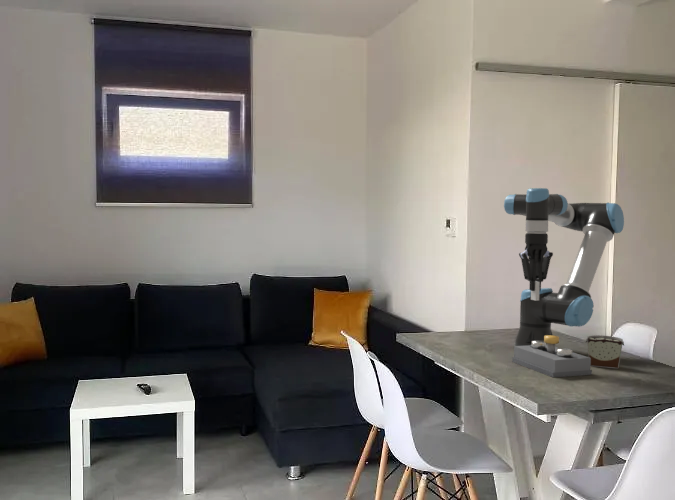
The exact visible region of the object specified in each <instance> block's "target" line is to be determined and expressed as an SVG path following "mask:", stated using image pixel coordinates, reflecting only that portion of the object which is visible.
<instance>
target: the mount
mask: <svg viewBox="0 0 675 500" xmlns="http://www.w3.org/2000/svg"><path fill="white" fill-rule="evenodd" d="M557 348H558V347H557V346H555V355H554V354H551V353H548V352H547V345H546V348H545V349H542V350H539V349H536V348H532V347H531V345H528V346H515V345H514V346H513V357H511V362H512V363H514V364H517V365H520V366H522V367H525V368H527V369H529V370H532V371H535V372H537V373H540V374H542V375H543V374H544V375H546V376H548V377H551V378H560V377H561V378H563V377H575V376H576V377H577V376H589V375H590V376H591V375H592V374H593V373H592V372H593V370H592V369H591V367H592V366H591V358H589V356H585V355H583V354H579V353H576V352H574V351H572V357H568V358H563V357H560V356H557Z"/></svg>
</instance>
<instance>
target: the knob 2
mask: <svg viewBox="0 0 675 500" xmlns="http://www.w3.org/2000/svg"><path fill="white" fill-rule="evenodd" d="M572 352H573V349H571V348H566V347H563V348H562V347H557V356H560V357H563V358H568V357H572Z"/></svg>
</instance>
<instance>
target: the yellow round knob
mask: <svg viewBox="0 0 675 500" xmlns="http://www.w3.org/2000/svg"><path fill="white" fill-rule="evenodd" d="M544 342H545V343H547V352H548V353H551V354H554V355H555V347H556V344H559V343H560V336H558V335H553V334H552V335H545V336H544Z"/></svg>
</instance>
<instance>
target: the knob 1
mask: <svg viewBox="0 0 675 500" xmlns="http://www.w3.org/2000/svg"><path fill="white" fill-rule="evenodd" d="M531 347H532V348H536V349H539V350H542V349H545V348H546V343H545V342H544V341H540V340H533V341H532V345H531Z"/></svg>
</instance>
